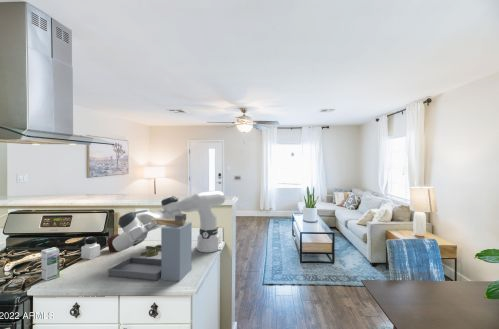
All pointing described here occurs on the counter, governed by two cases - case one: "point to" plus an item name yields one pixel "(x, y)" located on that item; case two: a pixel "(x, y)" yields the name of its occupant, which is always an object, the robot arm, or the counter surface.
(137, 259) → the charcoal tray
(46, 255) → the syrup box
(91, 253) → the medicine bottle
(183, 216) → the oak handled hammer
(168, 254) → the slate stand
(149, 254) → the cookie cutter
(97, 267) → the counter surface
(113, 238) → the muffin
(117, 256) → the counter surface
